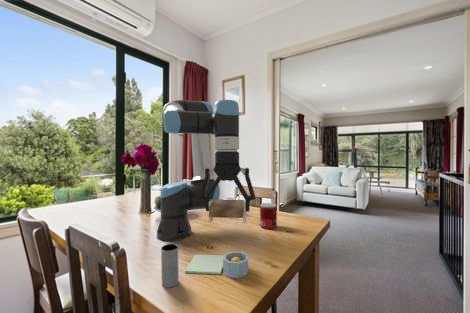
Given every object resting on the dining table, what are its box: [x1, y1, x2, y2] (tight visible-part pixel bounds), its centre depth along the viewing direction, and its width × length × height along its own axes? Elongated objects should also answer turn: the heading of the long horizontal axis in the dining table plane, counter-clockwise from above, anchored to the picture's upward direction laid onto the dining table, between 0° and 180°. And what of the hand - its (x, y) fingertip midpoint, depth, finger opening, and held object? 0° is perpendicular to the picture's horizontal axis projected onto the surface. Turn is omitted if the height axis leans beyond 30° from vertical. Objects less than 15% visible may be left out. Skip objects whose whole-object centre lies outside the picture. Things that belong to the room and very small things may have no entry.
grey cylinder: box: [160, 243, 180, 288], centre depth 62 cm, size 4×4×10 cm
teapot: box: [223, 195, 241, 200], centre depth 133 cm, size 10×20×9 cm, turn 144°
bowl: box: [222, 251, 249, 279], centre depth 68 cm, size 8×8×4 cm
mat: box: [184, 254, 224, 275], centre depth 72 cm, size 11×11×1 cm
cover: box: [208, 199, 244, 219], centre depth 69 cm, size 10×10×3 cm
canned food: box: [259, 202, 278, 230], centre depth 108 cm, size 8×8×11 cm
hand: (227, 221), depth 69 cm, fingers closed on cover, 10 cm apart
